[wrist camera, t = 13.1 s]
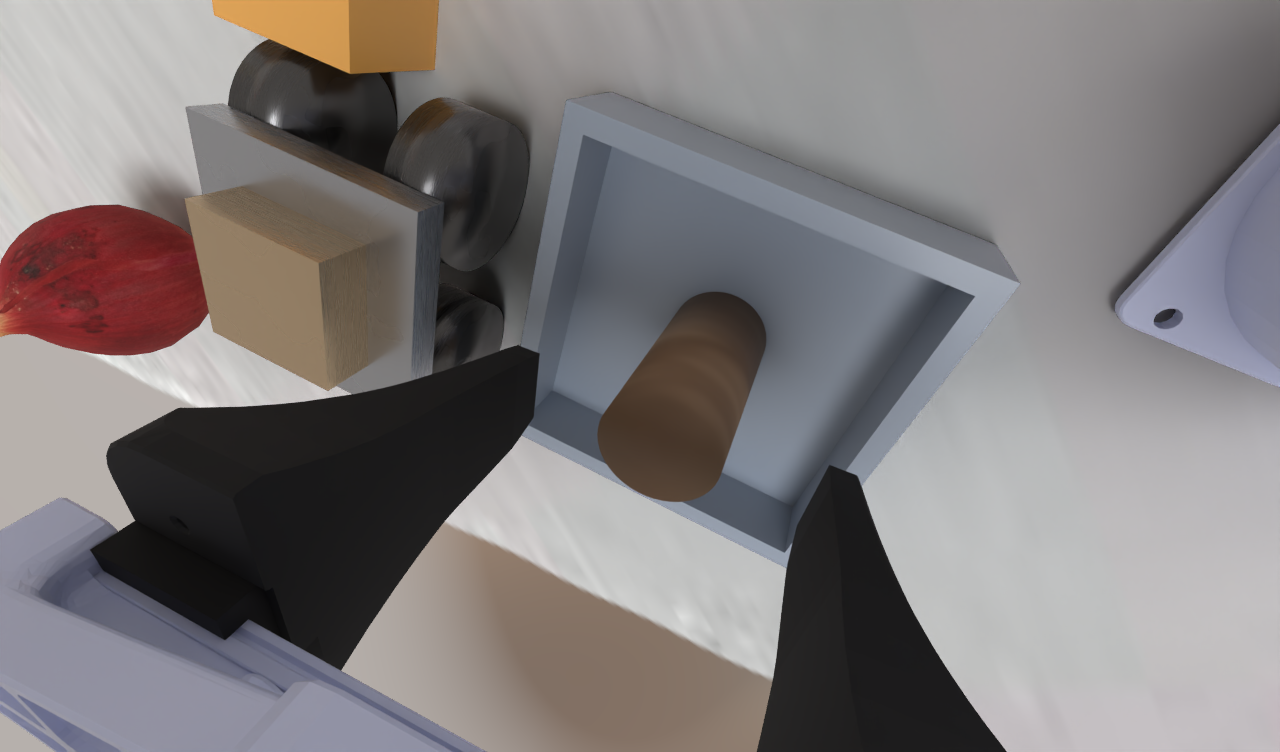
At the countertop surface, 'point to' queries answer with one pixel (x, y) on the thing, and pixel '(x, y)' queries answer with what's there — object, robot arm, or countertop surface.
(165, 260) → the onion
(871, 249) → the tray
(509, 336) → the countertop surface
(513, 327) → the countertop surface
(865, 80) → the countertop surface
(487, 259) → the trolley
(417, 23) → the block
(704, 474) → the pin
